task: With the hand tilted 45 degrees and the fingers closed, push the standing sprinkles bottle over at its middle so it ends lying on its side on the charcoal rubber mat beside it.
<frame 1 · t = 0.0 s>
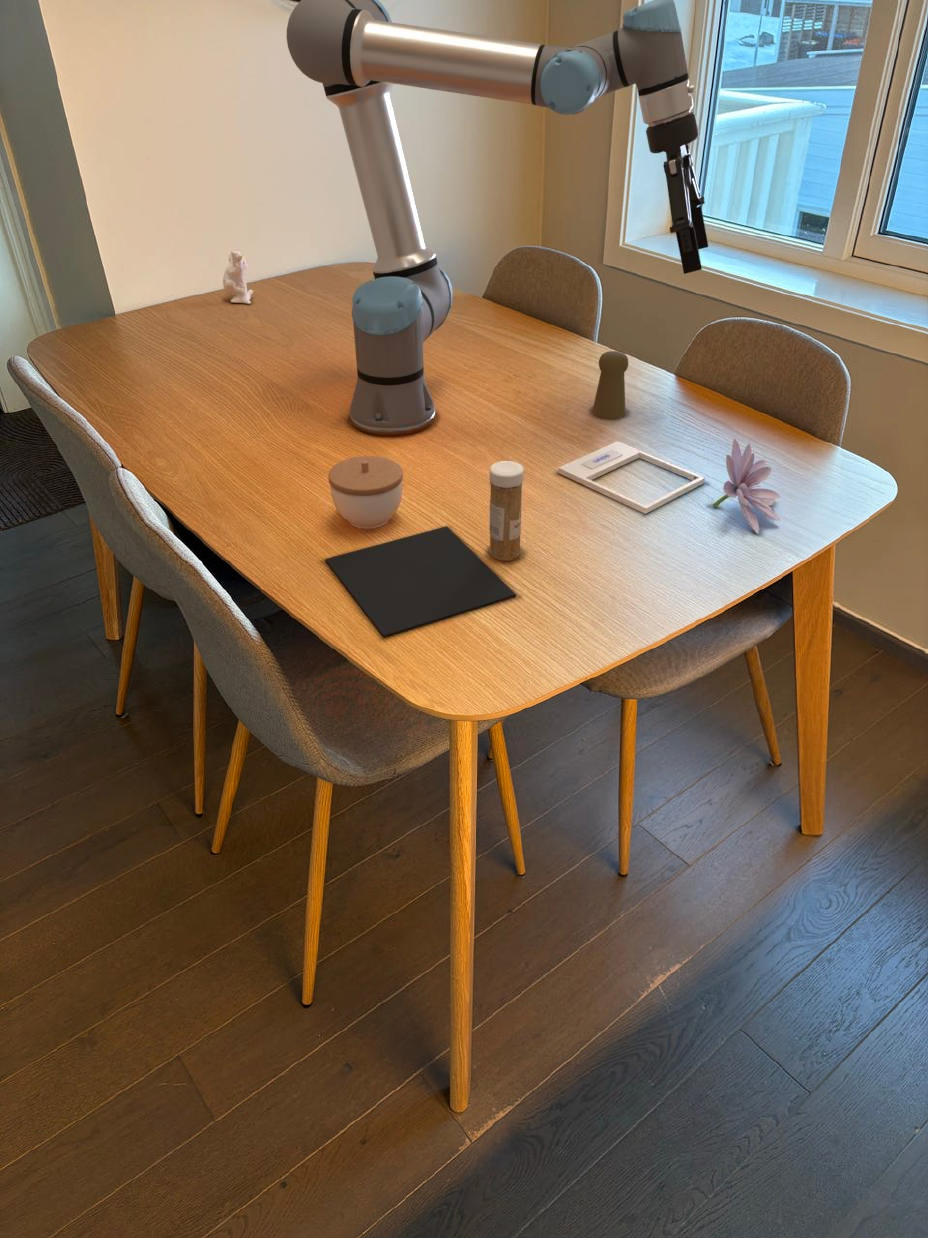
hand: (696, 259, 151), 28 cm above the table, tool tilted 20°, fingers open, 13 cm apart
sprinkles bottle: (504, 554, 131), on the table
photo frame: (630, 478, 149), on the table
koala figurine: (241, 301, 223), on the table
mat: (418, 578, 126), on the table
brown game pawn: (608, 413, 170), on the table
water lily: (745, 517, 140), on the table
trinket box: (369, 519, 139), on the table
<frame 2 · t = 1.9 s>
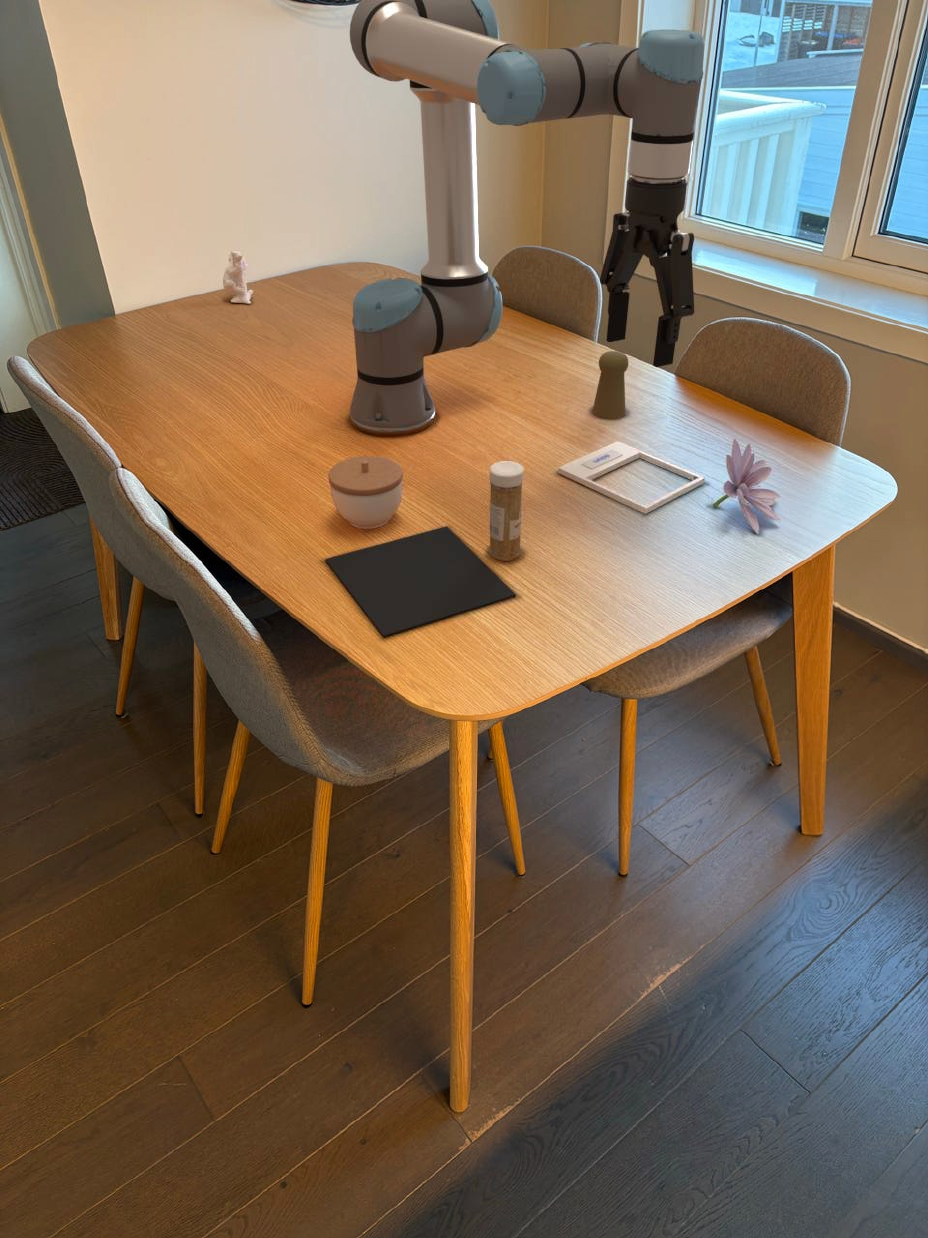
hand: (638, 351, 129), 24 cm above the table, tool pointing down, fingers open, 10 cm apart
nothing on the table moved.
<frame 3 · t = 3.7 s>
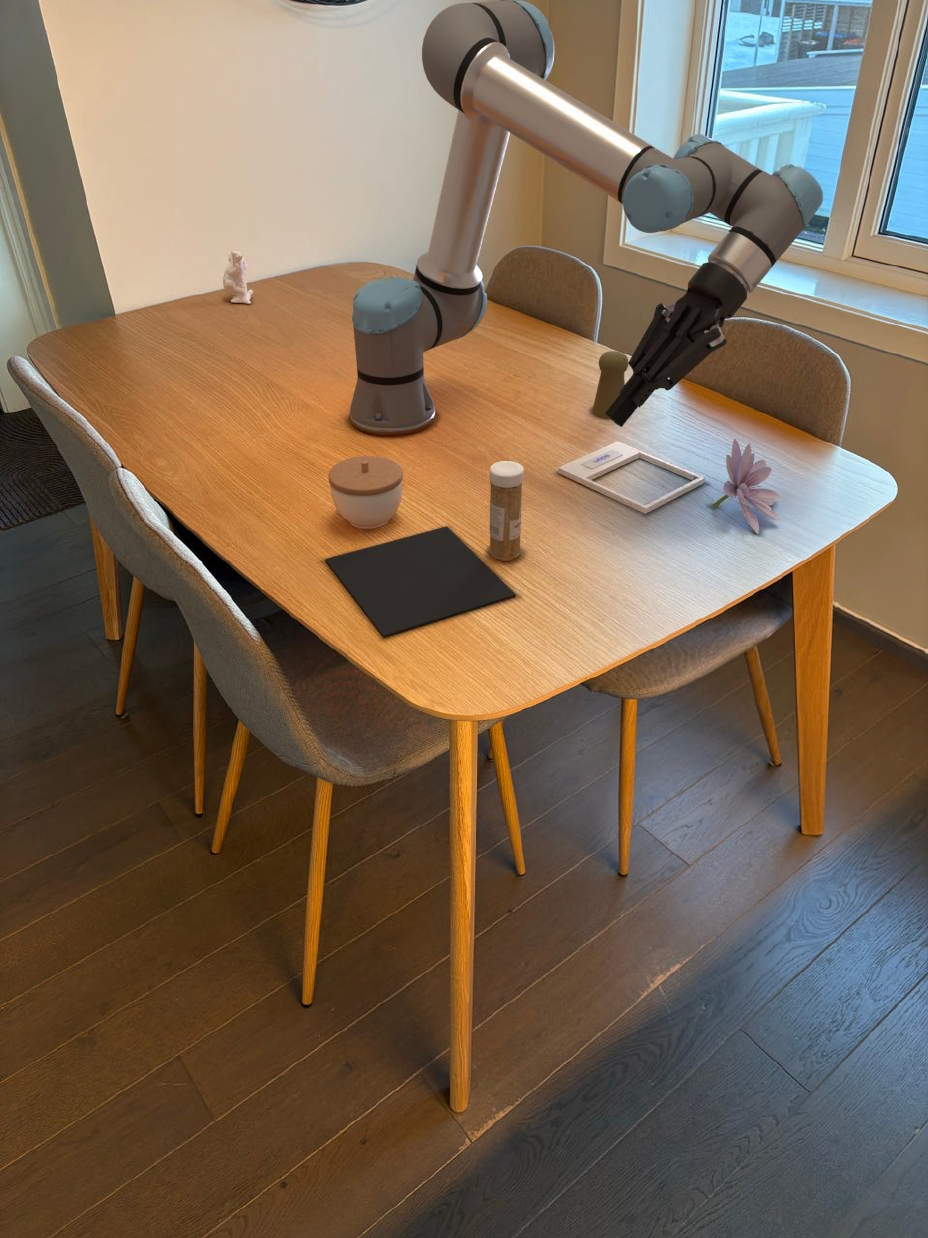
hand: (613, 420, 128), 17 cm above the table, tool tilted 45°, fingers closed
nothing on the table moved.
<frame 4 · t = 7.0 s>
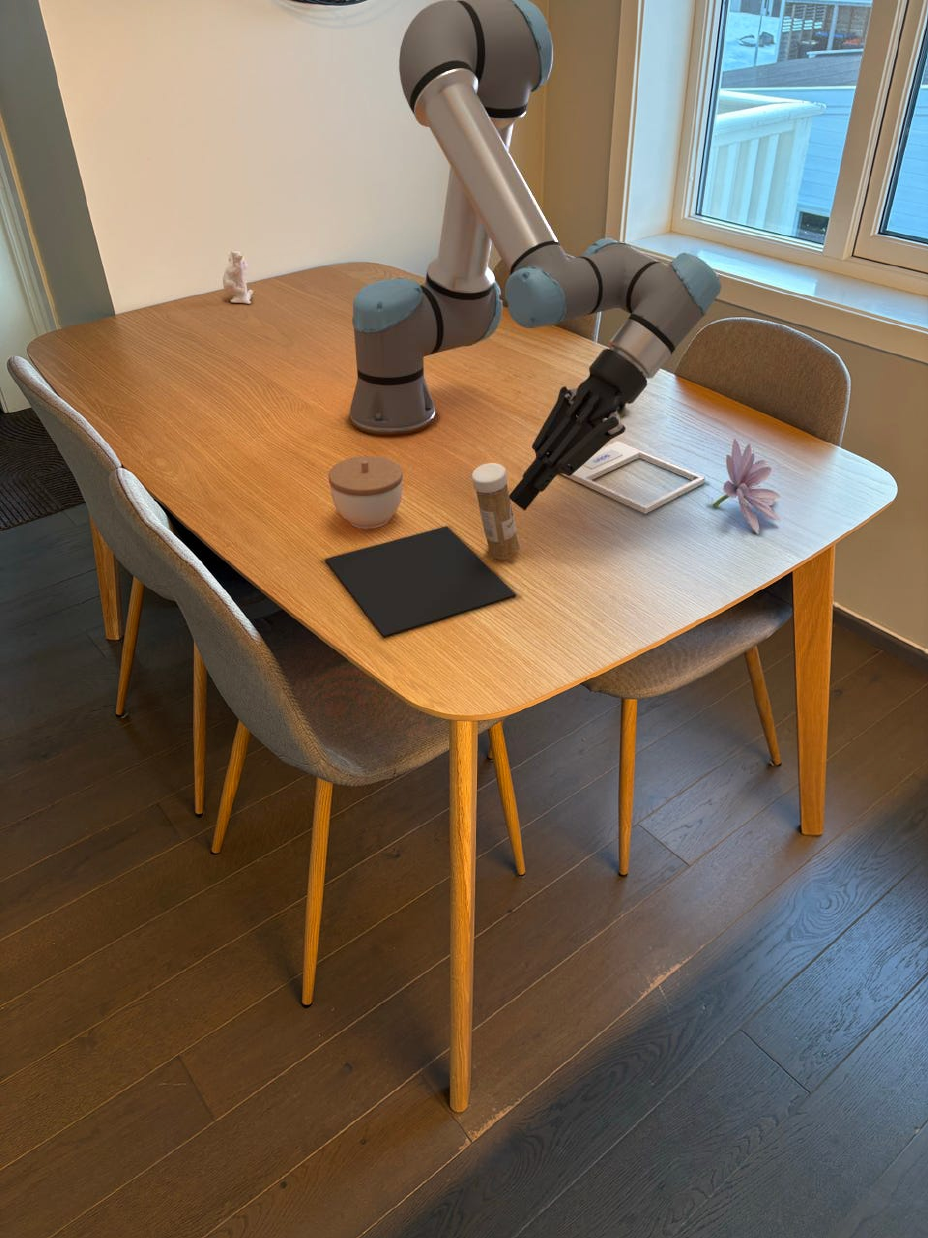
hand: (516, 503, 127), 8 cm above the table, tool tilted 45°, fingers closed
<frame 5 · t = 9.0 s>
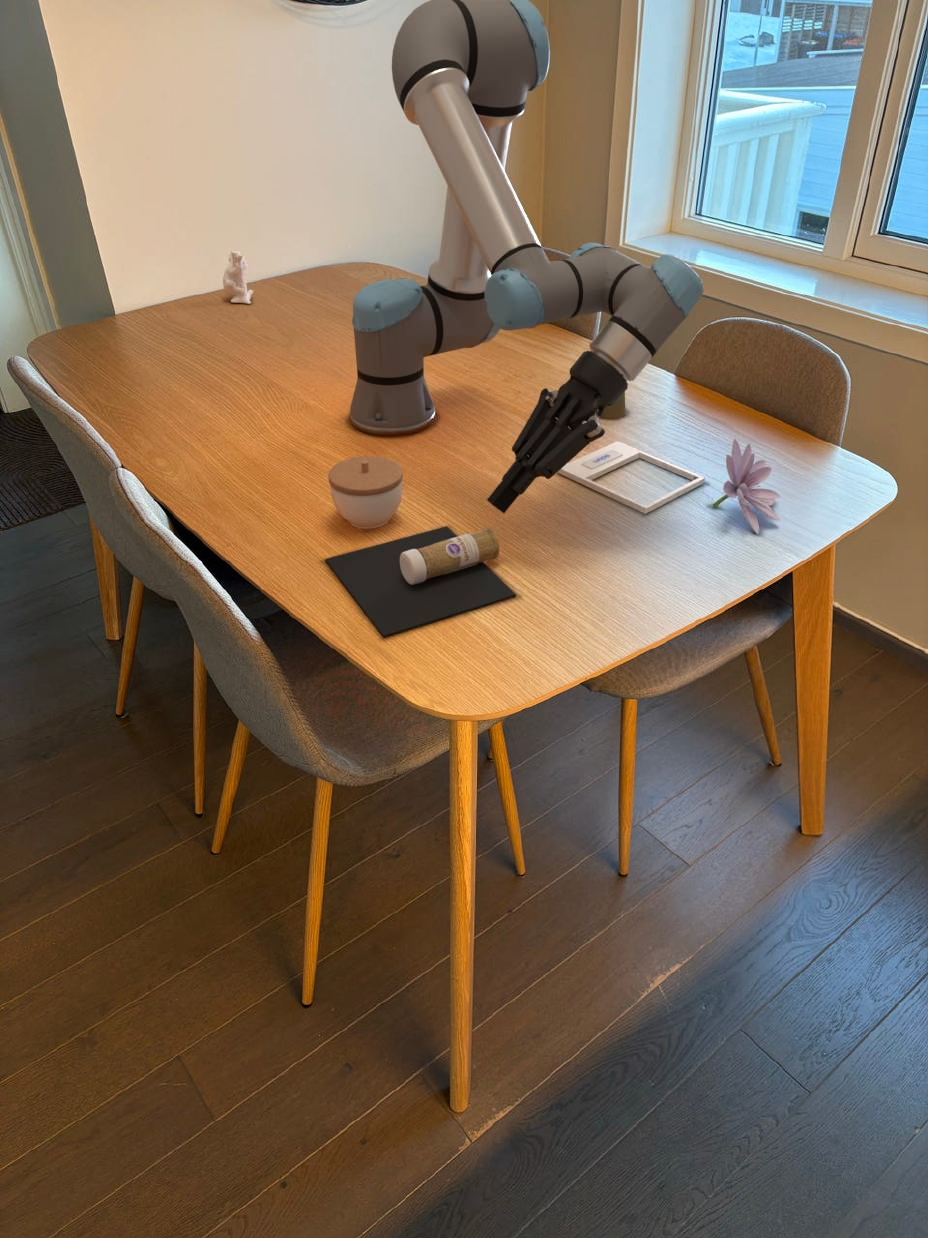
hand: (495, 506, 126), 8 cm above the table, tool tilted 45°, fingers closed
sprinkles bottle: (493, 542, 129), point 3 cm above the table, touching mat
everything else where it was.
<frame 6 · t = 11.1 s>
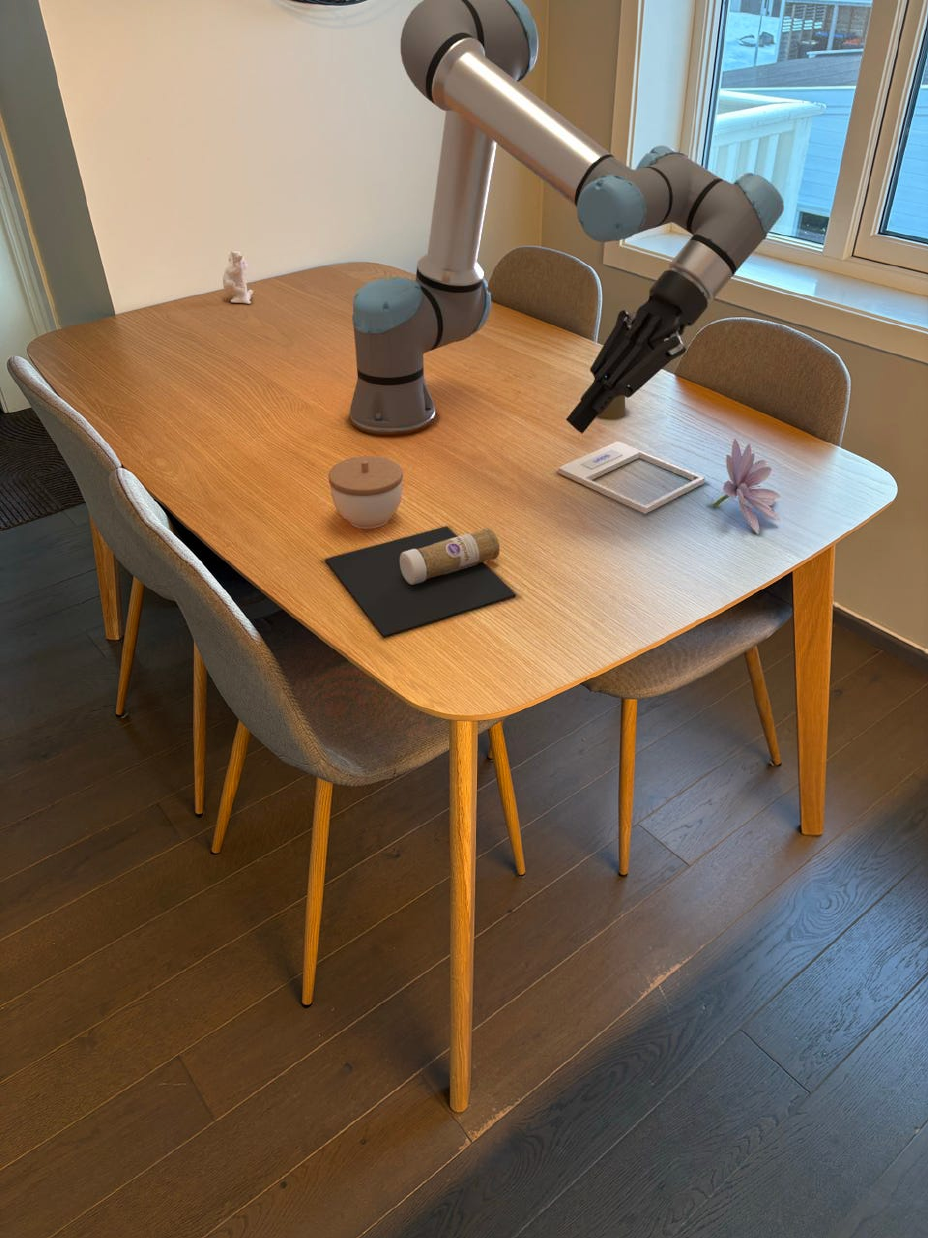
hand: (574, 426, 128), 16 cm above the table, tool tilted 45°, fingers closed
nothing on the table moved.
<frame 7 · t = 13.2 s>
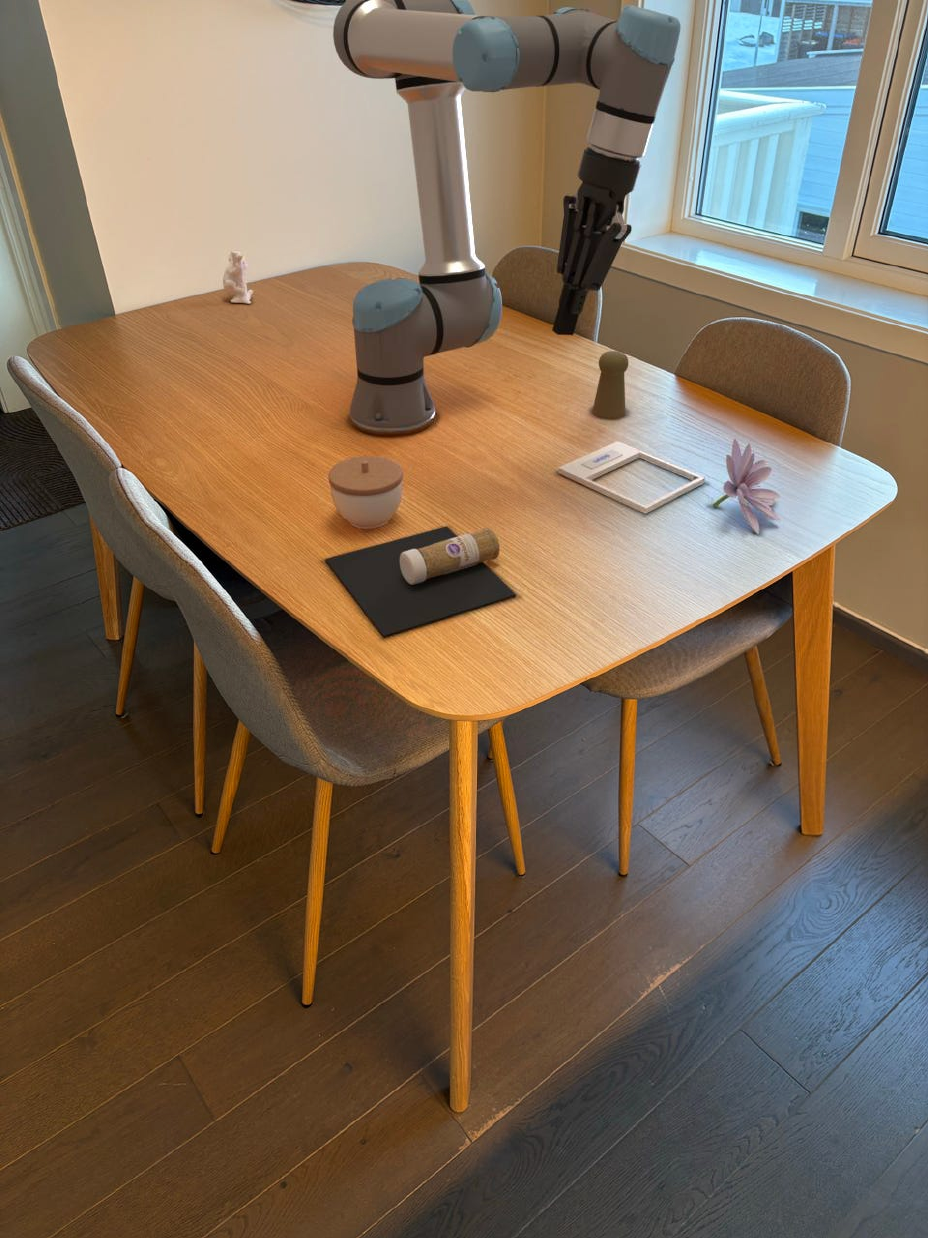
hand: (562, 332, 132), 25 cm above the table, tool pointing down, fingers closed
nothing on the table moved.
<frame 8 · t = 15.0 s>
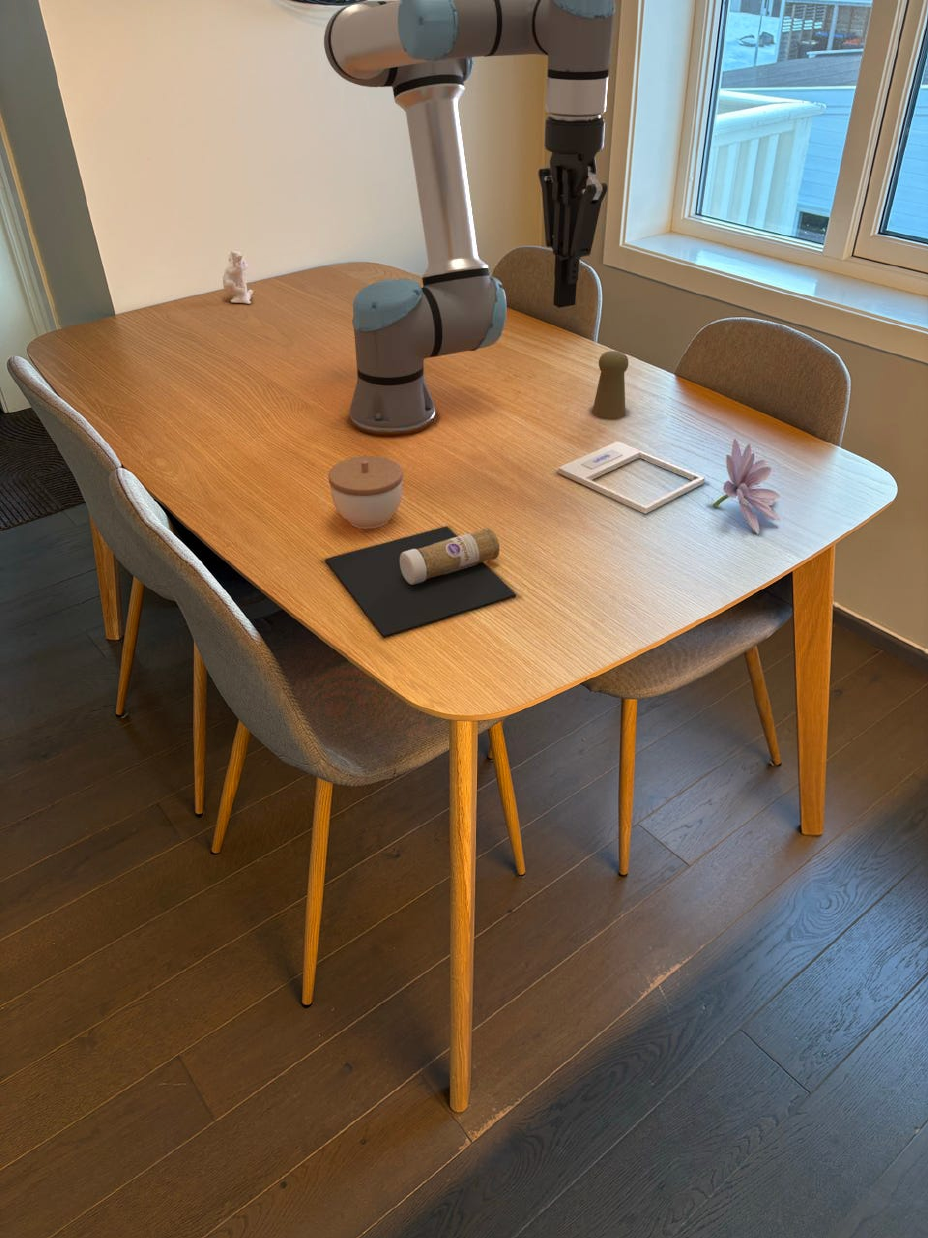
hand: (564, 304, 131), 28 cm above the table, tool pointing down, fingers closed
nothing on the table moved.
at the end: sprinkles bottle tilted 89°; sprinkles bottle touching mat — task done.
